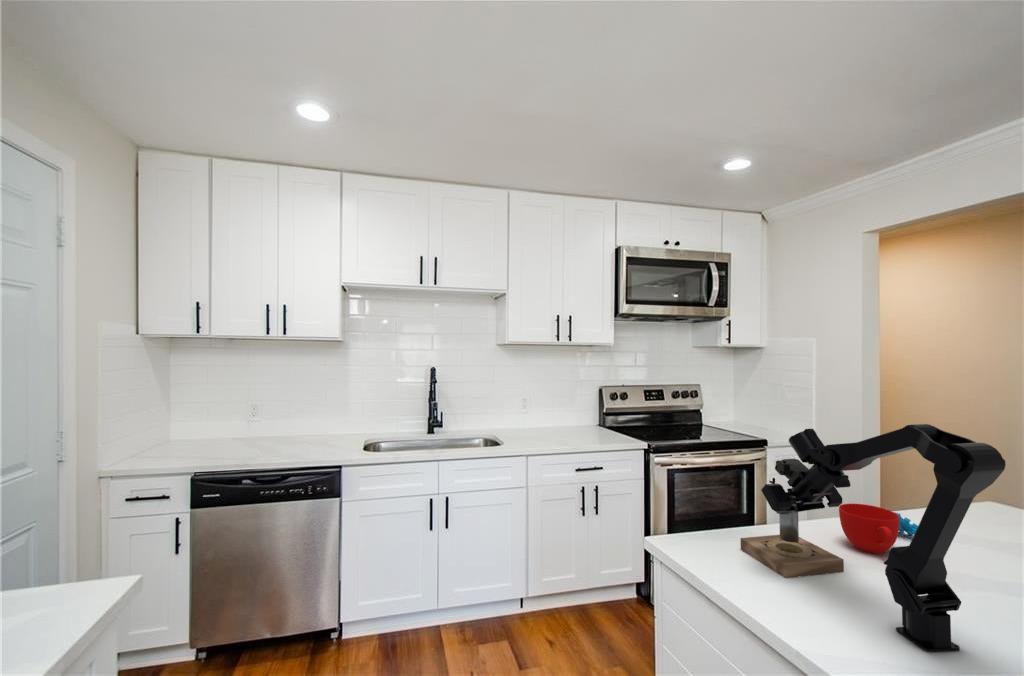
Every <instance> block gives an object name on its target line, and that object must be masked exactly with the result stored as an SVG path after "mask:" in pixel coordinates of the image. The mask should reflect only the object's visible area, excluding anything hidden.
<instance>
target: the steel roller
mask: <svg viewBox="0 0 1024 676" xmlns="http://www.w3.org/2000/svg"><path fill="white" fill-rule="evenodd" d="M793 506H794V508H795V511H790V512H785V513H780V514H779V515H778V516H779V517H778V519H779V521H778V522H779V535H780V539H782V540H784V541H787V542H799V537H800V535H799V534H800V531H799V530H800V529H799V528H800V526H799V512H798V502H796V505H793Z"/></svg>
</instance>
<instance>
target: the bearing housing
mask: <svg viewBox="0 0 1024 676" xmlns="http://www.w3.org/2000/svg"><path fill="white" fill-rule="evenodd" d="M740 550H741V551H743V552H744V553H746V554H747V555H749V556H750V555H751V557H752V558H754V559H755V560H757V561H758V562H760V563H762V564H763V565H764V566H766V567H767V568H769V569H771V570H773V572H775V573H777V574H778V575H780V576H781V577H783V578H785V579H788V578H789V579H791V578H799V577H798V576H801V577H809V576H808V575H810V576H817V575H827V574H826V573H829V574H835V572H838V573H844V572H845V568H844V558H842V557H839V556H838V555H836V554H834V553H832V552H830V551H828V550H827V549H824V548H822V547H820V546H819V545H816V544H814V543H812V542H811V541H808V540H807V539H804V538H802V537H800V536H799V542H787V541H784V540H782V539H780V534H772V535H771V534H770V535H760V536H758V535H757V536H748V537H740ZM843 571H844V572H843ZM790 577H791V578H790Z"/></svg>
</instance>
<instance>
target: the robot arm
mask: <svg viewBox="0 0 1024 676" xmlns="http://www.w3.org/2000/svg"><path fill="white" fill-rule="evenodd" d="M788 443H789V444H790V446H791V447H792V449H793V450H794V452H795V454H796V455H797V456H798V458H799V459H797V458H783V459H782V460H778V462H776V463H775V467H774V469H775V471H776V473H778V474H779V475H780V476H784V477H785V478H787V479H788V480H787V482H786V483H787V484H788V486H789V487H791V488H786V491H785V489H784V487H783V485H782V484H779V483H766V484H764V485H763V486H762V487H761V490H760V491H761V492H762V494H763V496H764V498H765V500H766V502H767V503H768V506H769V507H770V508H771V510H773V511H774V512H776V514H777V515H778V514H780V513H785V512H790V511H795V508H794V506H793V505H796V502H798V513H801V512H808V511H815V510H820V509H821V510H822V509H825V508H826V506H825V504H824V499H825V498H826V500H827V503H826V505H827V506H828V507H829V508H836V507H837V508H839V506H840V505H842V504H843V496H842V495H841V494H840V492H839V491H838V489H837V488H839V489H840V488H842V489H843V488H850V487H851V486H852V485H851V481H850V480H849V475H847V474H845V472H844V471H859V470H862V469H864V468H866V467H869V466H870V465H871V464H872V463H873V462H874V461H875V460H878V459H881V458H884V457H888V456H892V455H896V454H899V453H903V452H908V451H911V450H915V451H917V452H918V454H919V455H920V456H921V457H922V458H924V459H925V460H926V461H928V462H930V463H932V464H933V474H934V476H935V480H936V486H935V488H934V491H933V493H932V495H931V498H930V499H929V502H928V504H927V506H926V508H925V511H924V513H923V515H922V517H921V519H920V521H919V524H918V525H917V526H918V528H917V530H916V532H915V534H913V535H912V539H911V541H910V543H909V545H904V546H902V545H901V546H894V547H893V546H892V547H891V548H890V549H889V550H890V551H889V553H888V558H887V559H886V560H885V561H883V564H884V565H885V569H884V574H885V576H886V579H887V581H888V582H887V583H888V585H889V588H890V592H891V594H892V597H893V600H894V602H895V604H897V605H900V606H901V617H902V618H901V619H902V620H901V621H902V626H897V627H895V631H896V632H898V633H899V634H900V635H901V636H904V637H905V638H906V639H908V640H909V641H910V642H912V643H914V644H915V645H917V646H918V647H919V648H921V649H923V650H924V651H925V652H948V651H949V652H950V651H951V652H952V651H960V650H961V647H960V646H959V645H958V644H956V643H955V642H954V641H952V629H951V628H952V627H951V626H952V625H951V624H952V623H951V619H952V618H951V614H949V613H948V612H950V611H951V612H952V611H955V612H956V611H957V612H958V611H959V609H960V607H961V604H962V601H961V599H960V598H959V597H958V595H957V594H956V592H954V590H953V589H952V587H951V586H950V584H949V583H948V582H947V581H946V580H947V576H948V571H947V568H946V564H945V561H944V560H945V557H946V555H947V552H948V551H949V549H950V547H951V544H952V542H953V541H954V539H955V536H956V535H957V533H958V531H959V528H960V526H961V524H962V523H963V520H964V518H965V517H966V515H967V513H968V511H969V508H970V506H971V504H972V502H973V501H974V498H975V497H976V496H977V495H978V494H981V493H982V492H983V491H985V490H986V489H988V488H989V487H990V486H992V485H993V484H994V483H995V482H996V480H997V479H998V478H999V477H1000V476H1001V475H1002V473H1003V472H1004V470H1005V469H1006V459H1005V458H1003V456H1002V454H1001V452H999V450H998V449H997V448H995V447H994V446H993V445H991V444H988V443H985V442H976V441H975V440H972V439H970V438H967V437H965V436H962V435H958V434H955V433H951V432H948V431H945V430H942V429H940V428H939V427H937V426H934V425H932V424H930V423H929V424H928V423H919V424H916V423H915V424H907V425H905V426H904V427H901V428H898V429H896V430H892V431H889V432H886V433H883V434H882V433H881V434H879V435H876V436H873V437H869V438H867V439H863V440H860V441H856V442H847V443H845V442H844V443H835V444H832V443H831V444H826V445H825V444H824V442H823V441H822V440H821V439H820V437H819V436H818V434H817V432H816V431H815V429H814V428H805V429H804V430H802V431H800V432H797V433H795V434H793V435H791V436H790V437H789V438H788ZM804 463H805V464H807V463H808V465H811V467H809V468H808V466H806V465H805V464H804Z"/></svg>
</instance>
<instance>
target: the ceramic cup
mask: <svg viewBox="0 0 1024 676" xmlns="http://www.w3.org/2000/svg"><path fill="white" fill-rule="evenodd" d="M896 513H897V512H896ZM896 513H895V511H892V510H890V509H887V508H883V507H879V506H875V505H872V504H871V505H870V504H862V503H842V504H841V505H839V506H838V515H839V521H840V525H841V528H842V531H843V534H844V535H845V537H846V539H848V540H849V542H850V543H851V544H852V545H853V547H854V548H855V549H856V550H859V551H861V552H864V553H869V554H874V555H875V554H876V555H879V554H880V555H881V554H884V553H885V552H887V551H889V550H890V549H891V548H892V547H893V546H894V545H895V543H896V542H897V539H898V536H899V532H900V531H899V516H898V514H896Z"/></svg>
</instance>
